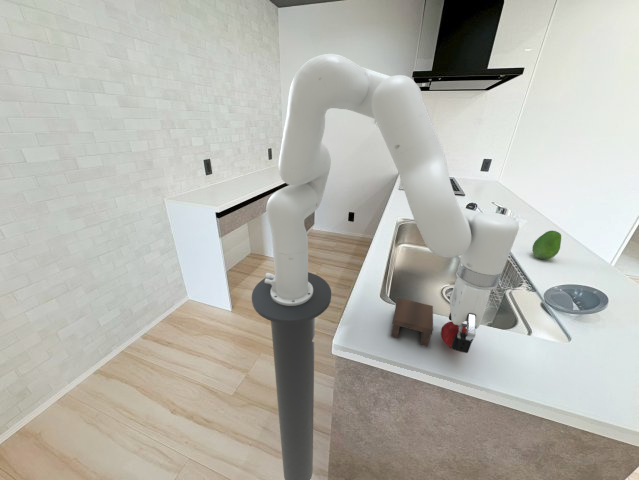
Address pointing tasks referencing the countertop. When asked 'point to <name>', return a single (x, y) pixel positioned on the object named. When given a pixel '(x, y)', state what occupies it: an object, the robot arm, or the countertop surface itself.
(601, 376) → the countertop surface
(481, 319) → the robot arm
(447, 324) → the onion
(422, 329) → the stand
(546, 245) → the avocado
